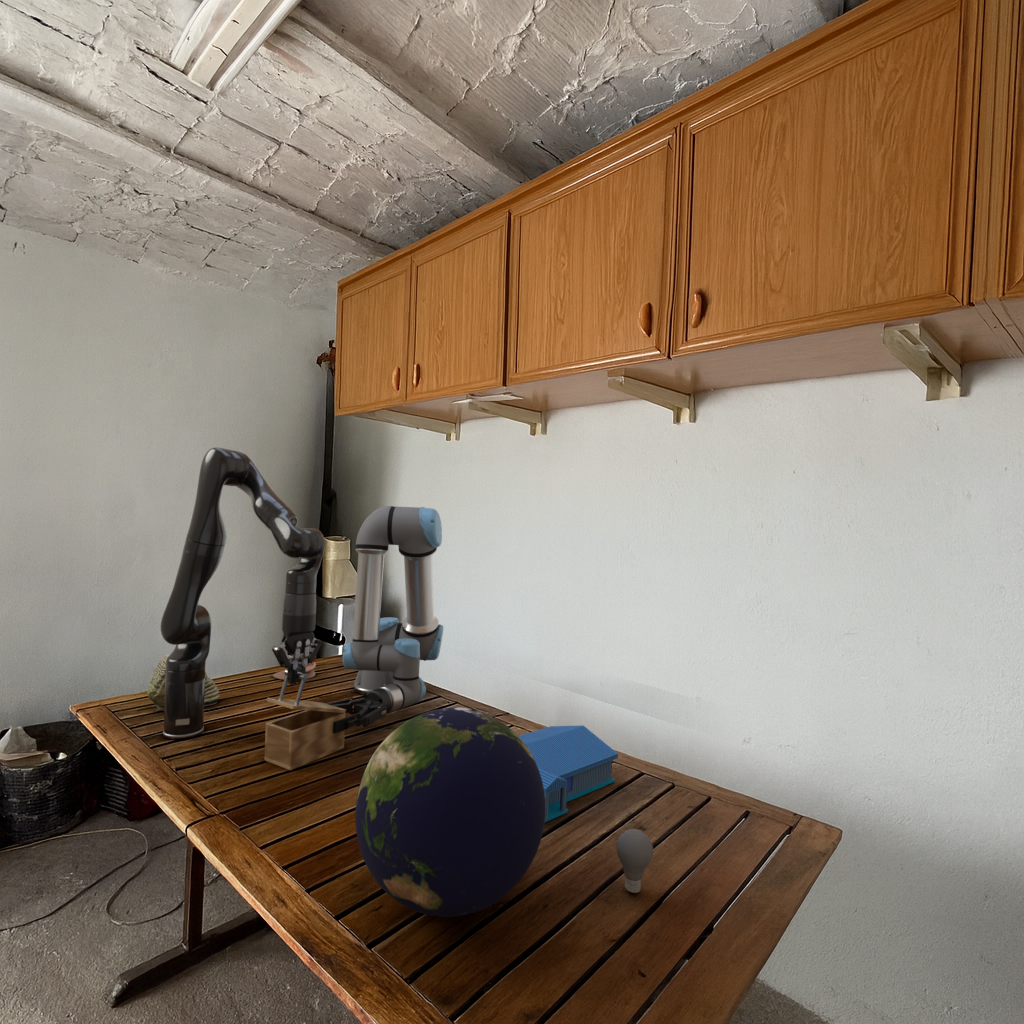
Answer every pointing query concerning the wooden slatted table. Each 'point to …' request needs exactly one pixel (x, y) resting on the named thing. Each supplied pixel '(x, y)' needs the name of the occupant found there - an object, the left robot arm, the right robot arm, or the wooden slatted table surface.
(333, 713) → the chest
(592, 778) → the model building
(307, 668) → the anatomical model
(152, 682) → the fossil
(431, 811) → the globe
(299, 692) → the lid
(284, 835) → the wooden slatted table surface
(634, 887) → the light bulb
